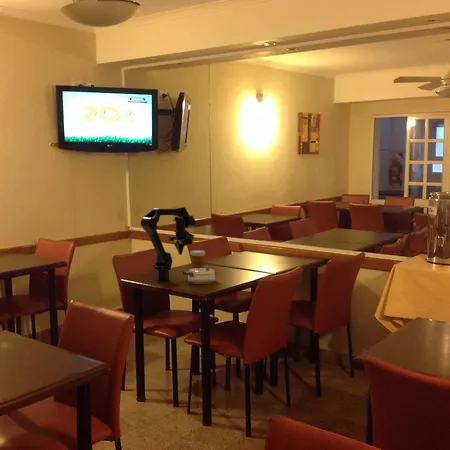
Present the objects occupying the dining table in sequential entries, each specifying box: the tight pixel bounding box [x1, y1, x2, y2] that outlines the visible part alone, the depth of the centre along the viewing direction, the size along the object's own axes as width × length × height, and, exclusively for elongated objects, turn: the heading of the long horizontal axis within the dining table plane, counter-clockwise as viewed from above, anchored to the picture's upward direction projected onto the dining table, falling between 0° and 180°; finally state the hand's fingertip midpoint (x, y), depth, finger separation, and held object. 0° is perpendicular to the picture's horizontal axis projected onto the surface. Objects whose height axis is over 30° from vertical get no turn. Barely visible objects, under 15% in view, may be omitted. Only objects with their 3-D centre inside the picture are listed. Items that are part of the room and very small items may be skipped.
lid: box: [182, 265, 216, 276], centre depth 327 cm, size 18×15×3 cm
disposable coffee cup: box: [189, 249, 206, 269], centre depth 359 cm, size 10×10×12 cm
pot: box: [187, 272, 216, 285], centre depth 329 cm, size 15×15×5 cm
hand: (180, 254), depth 340 cm, fingers closed
